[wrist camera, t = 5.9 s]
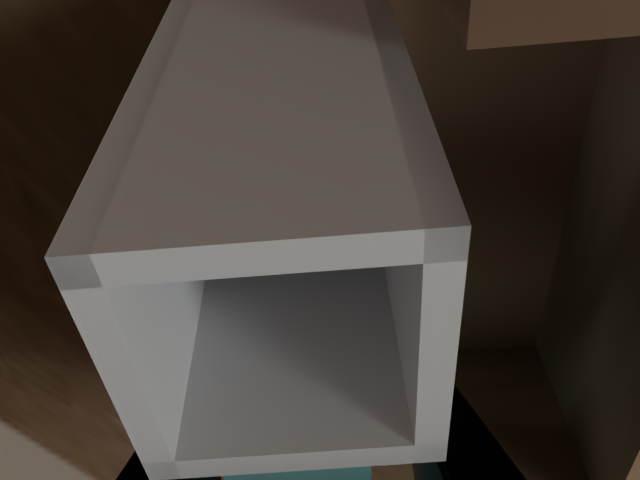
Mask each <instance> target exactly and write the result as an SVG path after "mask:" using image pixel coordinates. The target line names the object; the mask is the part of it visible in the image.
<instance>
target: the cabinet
mask: <svg viewBox="0 0 640 480" xmlns="http://www.w3.org/2000/svg"><path fill="white" fill-rule="evenodd" d="M389 2H390V4H391V7H392V10H393V13H394V15H395V18H396V21H397V23H398V26H399V29H400V32H401V34H402V37H403V40H404V43H405V45H406V48H407V51H408V54H409V56H410V59H411V62H412V65H413V67H414V70H415V73H416V75H417V78H418V81H419V84H420V86H421V89H422V92H423V95H424V97H425V100H426V103H427V106H428V108H429V111H430V114H431V117H432V119H433V122H434V125H435V127H436V130H437V133H438V136H439V138H440V141H441V144H442V147H443V149H444V152H445V155H446V158H447V160H448V163H449V166H450V168H451V171H452V174H453V177H454V179H455V182H456V185H457V188H458V190H459V193H460V196H461V199H462V201H463V204H464V207H465V210H466V212H467V215H468V218H469V220H470V223H471V234H470V243H469V253H468V262H467V271H466V280H465V289H464V299H463V308H462V317H461V326H460V336H459V345H458V354H457V363H456V372H455V382H454V384H455V385H456V387H457V388H458V389H459V391H460V392H461V393H462V395H463V396H464V397H465V399H466V400H467V401H468V403H469V404H470V405H471V407H472V408H473V409H474V411H475V412H476V413H477V415H478V416H479V417H480V418H481V420H482V421H483V422H484V424H485V425H486V426H487V428H488V429H489V430H490V432H491V433H492V434H493V436H494V437H495V438H496V440H497V441H498V442H499V444H500V445H501V446H502V448H503V449H504V450H505V452H506V453H507V454H508V456H509V457H510V458H511V460H512V461H513V462H514V463H515V465H516V466H517V467H518V469H519V470H520V471H521V473H522V474H523V475H524V477H525V478H526V479H527V480H640V0H389ZM412 465H413V471H414V478H415V480H417V472H416V464H415V463H412Z"/></svg>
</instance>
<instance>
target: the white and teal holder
mask: <svg viewBox="0 0 640 480" xmlns="http://www.w3.org/2000/svg"><path fill="white" fill-rule="evenodd" d="M470 234H471V223H470V220H469V218H468V215H467V212H466V210H465V207H464V204H463V201H462V199H461V196H460V193H459V190H458V188H457V185H456V182H455V179H454V177H453V174H452V171H451V168H450V166H449V163H448V160H447V158H446V155H445V152H444V149H443V147H442V144H441V141H440V138H439V136H438V133H437V130H436V127H435V125H434V122H433V119H432V117H431V114H430V111H429V108H428V106H427V103H426V100H425V97H424V95H423V92H422V89H421V86H420V84H419V81H418V78H417V75H416V73H415V70H414V67H413V65H412V62H411V59H410V56H409V54H408V51H407V48H406V45H405V43H404V40H403V37H402V34H401V32H400V29H399V26H398V23H397V21H396V18H395V15H394V13H393V10H392V7H391V4H390V2H389V0H171V2H170V4H169V6H168V8H167V10H166V12H165V14H164V16H163V18H162V20H161V22H160V24H159V26H158V28H157V30H156V32H155V34H154V36H153V38H152V40H151V42H150V44H149V46H148V48H147V50H146V53H145V55H144V57H143V59H142V61H141V63H140V65H139V67H138V69H137V71H136V73H135V75H134V77H133V79H132V81H131V83H130V85H129V87H128V89H127V91H126V93H125V95H124V97H123V99H122V101H121V103H120V105H119V107H118V109H117V111H116V113H115V115H114V117H113V119H112V121H111V123H110V125H109V127H108V129H107V131H106V133H105V135H104V137H103V139H102V141H101V144H100V146H99V148H98V150H97V152H96V154H95V156H94V158H93V160H92V162H91V164H90V166H89V168H88V170H87V172H86V174H85V176H84V178H83V180H82V182H81V184H80V186H79V188H78V190H77V192H76V194H75V196H74V198H73V200H72V202H71V204H70V206H69V208H68V210H67V212H66V214H65V216H64V218H63V220H62V222H61V224H60V226H59V228H58V230H57V233H56V235H55V237H54V239H53V241H52V243H51V245H50V247H49V249H48V251H47V253H46V255H45V257H44V259H45V261H46V263H47V265H48V267H49V269H50V271H51V273H52V275H53V278H54V280H55V282H56V284H57V286H58V288H59V290H60V292H61V294H62V297H63V299H64V301H65V303H66V305H67V307H68V309H69V311H70V313H71V316H72V318H73V320H74V322H75V324H76V326H77V328H78V330H79V332H80V335H81V337H82V339H83V341H84V343H85V345H86V347H87V349H88V351H89V354H90V356H91V358H92V360H93V362H94V364H95V366H96V368H97V370H98V373H99V375H100V377H101V379H102V381H103V383H104V385H105V387H106V389H107V392H108V394H109V396H110V398H111V400H112V402H113V404H114V406H115V408H116V411H117V413H118V415H119V417H120V419H121V421H122V423H123V425H124V427H125V430H126V432H127V434H128V436H129V438H130V440H131V442H132V444H133V446H134V449H135V451H136V453H137V455H138V457H139V459H140V461H141V463H142V465H143V468H144V470H145V472H146V474H147V476H148V478H149V480H170V479H185V478H200V477H215V476H223V477H224V480H372V473H371V466H381V465H396V464H411V463H426V462H441V461H446V455H447V446H448V437H449V428H450V419H451V409H452V400H453V391H454V382H455V372H456V363H457V354H458V345H459V336H460V326H461V317H462V308H463V299H464V289H465V280H466V271H467V262H468V253H469V243H470Z"/></svg>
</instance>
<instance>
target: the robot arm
mask: <svg viewBox="0 0 640 480" xmlns="http://www.w3.org/2000/svg"><path fill="white" fill-rule="evenodd" d="M415 464H416V472H417V480H527V479H526V478H525V477H524V475H523V474H522V473H521V471H520V470H519V469H518V467H517V466H516V465H515V463H514V462H513V461H512V460H511V458H510V457H509V456H508V454H507V453H506V452H505V450H504V449H503V448H502V446H501V445H500V444H499V442H498V441H497V440H496V438H495V437H494V436H493V434H492V433H491V432H490V430H489V429H488V428H487V426H486V425H485V424H484V422H483V421H482V420H481V418H480V417H479V416H478V415H477V413H476V412H475V411H474V409H473V408H472V407H471V405H470V404H469V403H468V401H467V400H466V399H465V397H464V396H463V395H462V393H461V392H460V391H459V389H458V388H457V387H456V385H455V384H454V391H453V400H452V409H451V419H450V428H449V437H448V446H447V455H446V461H441V462H426V463H415ZM116 480H149V478H148V476H147V474H146V472H145V470H144V468H143V465H142V463H141V461H140V459H139V457H138V455H137V453H136V451H135V452H134V453H133V455H132V456H131V458H130V459H129V461H128V462H127V464H126V465H125V467H124V468H123V470H122V471H121V473H120V474H119V476H118V477H117V479H116ZM170 480H221V476H215V477H200V478H185V479H170Z"/></svg>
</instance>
